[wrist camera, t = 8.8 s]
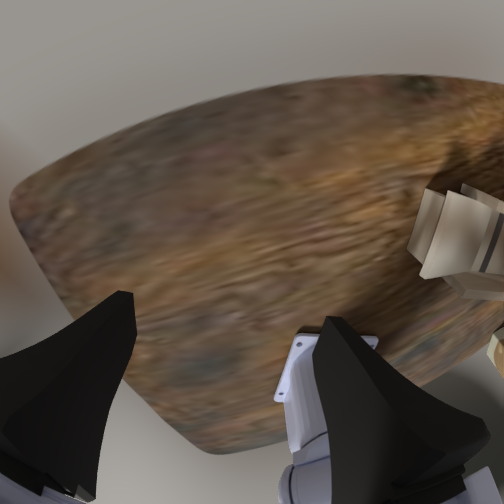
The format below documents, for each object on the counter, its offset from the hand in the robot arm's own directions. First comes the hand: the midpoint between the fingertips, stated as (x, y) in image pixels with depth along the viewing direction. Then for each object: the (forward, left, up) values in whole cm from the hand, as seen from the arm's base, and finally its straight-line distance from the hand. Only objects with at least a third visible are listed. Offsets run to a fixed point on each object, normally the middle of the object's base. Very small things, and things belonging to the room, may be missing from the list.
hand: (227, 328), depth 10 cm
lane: (+3, -21, -10) cm, 23 cm away
